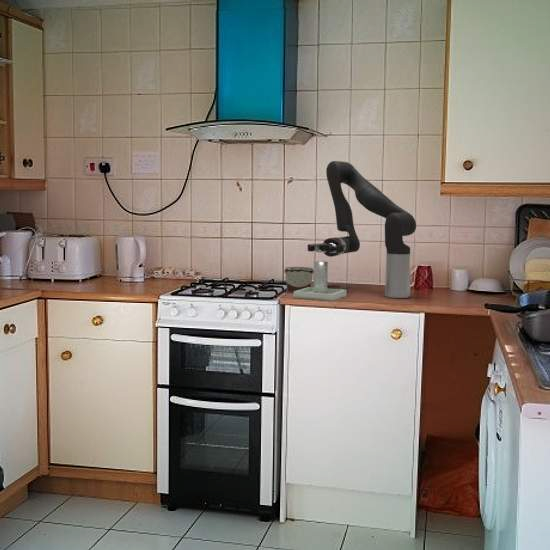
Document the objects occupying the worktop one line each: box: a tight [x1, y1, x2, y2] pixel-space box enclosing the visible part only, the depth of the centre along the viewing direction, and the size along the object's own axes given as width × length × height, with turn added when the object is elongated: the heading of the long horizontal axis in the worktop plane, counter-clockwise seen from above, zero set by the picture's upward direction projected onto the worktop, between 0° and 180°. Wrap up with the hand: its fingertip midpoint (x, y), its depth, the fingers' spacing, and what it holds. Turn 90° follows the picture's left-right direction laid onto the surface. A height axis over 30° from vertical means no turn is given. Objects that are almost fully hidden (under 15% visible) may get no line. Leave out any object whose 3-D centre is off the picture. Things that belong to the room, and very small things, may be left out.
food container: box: [283, 266, 314, 293], centre depth 312 cm, size 12×6×10 cm, turn 84°
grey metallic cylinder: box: [313, 260, 329, 294], centre depth 298 cm, size 5×5×13 cm
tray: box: [293, 286, 348, 302], centre depth 298 cm, size 16×16×2 cm
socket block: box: [327, 284, 348, 293], centre depth 312 cm, size 9×9×2 cm
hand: (320, 249), depth 294 cm, fingers open, 8 cm apart
